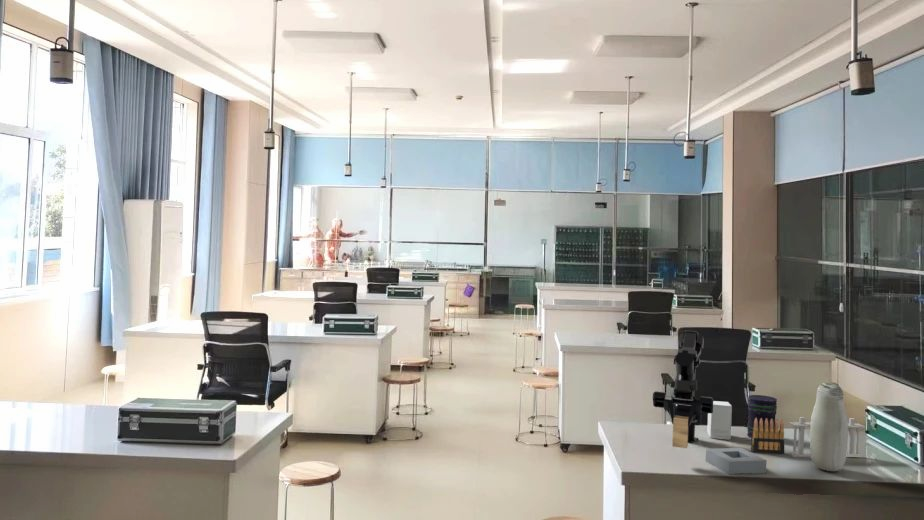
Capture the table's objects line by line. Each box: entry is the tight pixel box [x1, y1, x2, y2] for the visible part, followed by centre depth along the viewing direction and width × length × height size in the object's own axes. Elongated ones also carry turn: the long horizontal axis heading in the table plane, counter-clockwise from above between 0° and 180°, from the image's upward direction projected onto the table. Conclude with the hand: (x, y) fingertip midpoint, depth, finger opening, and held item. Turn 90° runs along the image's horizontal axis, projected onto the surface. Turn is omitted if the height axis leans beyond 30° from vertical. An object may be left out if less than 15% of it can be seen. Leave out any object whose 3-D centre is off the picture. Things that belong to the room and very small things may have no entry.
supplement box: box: [706, 400, 733, 441], centre depth 249 cm, size 7×7×13 cm
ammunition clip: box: [750, 418, 785, 455], centre depth 230 cm, size 11×2×12 cm, turn 87°
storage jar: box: [746, 394, 778, 439], centre depth 249 cm, size 10×10×15 cm
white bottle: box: [809, 382, 849, 472], centre depth 213 cm, size 10×10×28 cm
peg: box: [671, 414, 689, 449], centre depth 213 cm, size 4×4×9 cm
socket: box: [705, 447, 767, 475], centre depth 213 cm, size 13×13×4 cm
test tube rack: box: [786, 416, 866, 458], centre depth 229 cm, size 25×4×13 cm, turn 93°
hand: (680, 424), depth 212 cm, fingers closed on peg, 4 cm apart
